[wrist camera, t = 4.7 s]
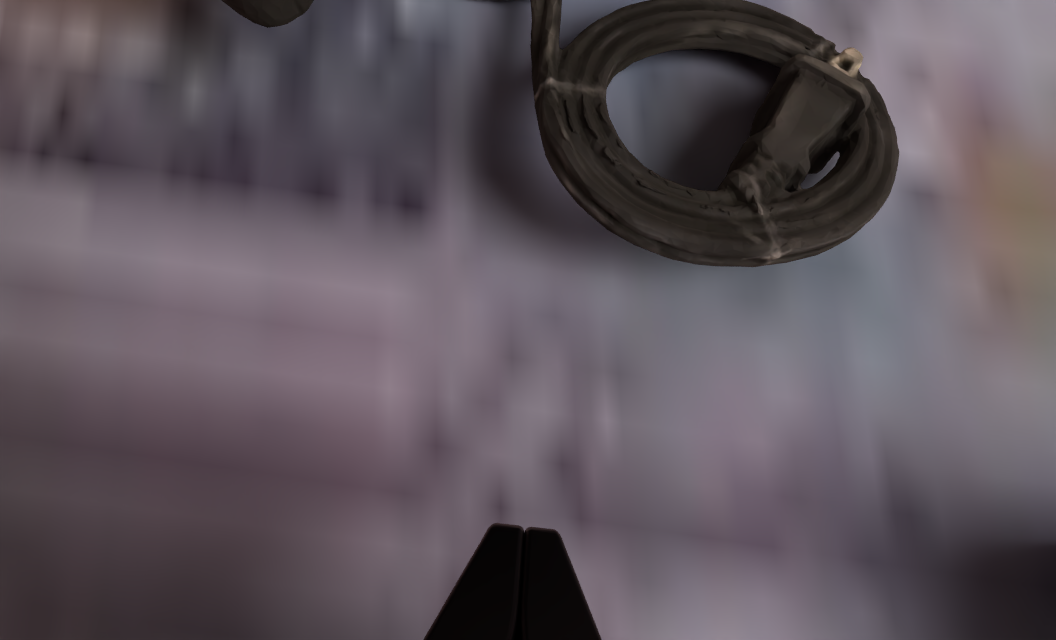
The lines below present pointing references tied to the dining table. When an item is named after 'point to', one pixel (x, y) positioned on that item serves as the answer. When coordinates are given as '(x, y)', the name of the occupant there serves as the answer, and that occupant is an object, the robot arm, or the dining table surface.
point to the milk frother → (763, 161)
